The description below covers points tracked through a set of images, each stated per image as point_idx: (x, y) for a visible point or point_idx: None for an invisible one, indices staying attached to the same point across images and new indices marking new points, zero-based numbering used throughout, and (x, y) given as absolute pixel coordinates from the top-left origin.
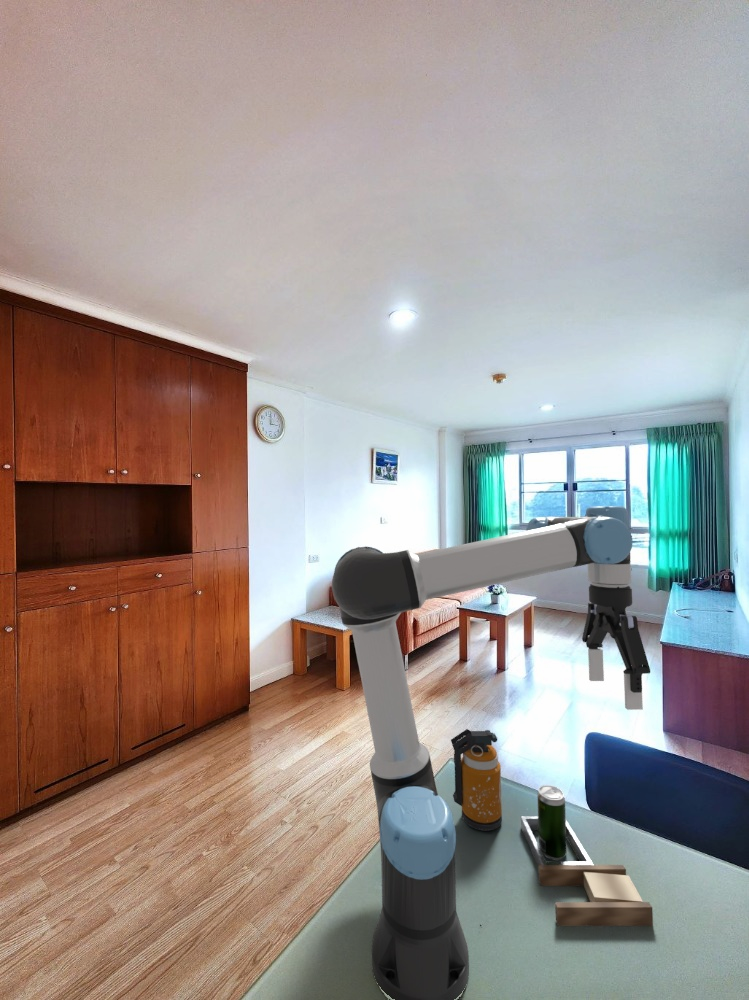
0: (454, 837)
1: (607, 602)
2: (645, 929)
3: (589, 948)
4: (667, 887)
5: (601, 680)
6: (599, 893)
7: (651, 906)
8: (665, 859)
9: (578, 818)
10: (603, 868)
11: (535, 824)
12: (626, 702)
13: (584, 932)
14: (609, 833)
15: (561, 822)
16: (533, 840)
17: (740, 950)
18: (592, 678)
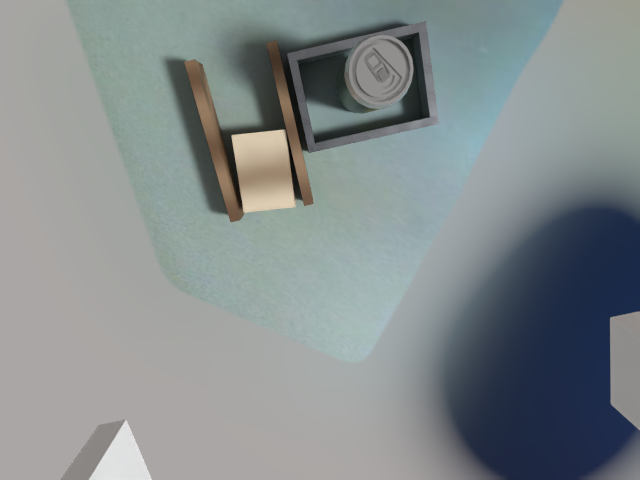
0: None
1: None
2: None
3: (167, 110)
4: (315, 261)
5: (613, 391)
6: (241, 146)
7: (232, 221)
8: (375, 280)
9: (462, 159)
10: (297, 167)
11: (418, 58)
12: (86, 458)
13: (193, 108)
14: (426, 207)
15: (346, 97)
16: (352, 41)
17: (227, 311)
18: (627, 339)
